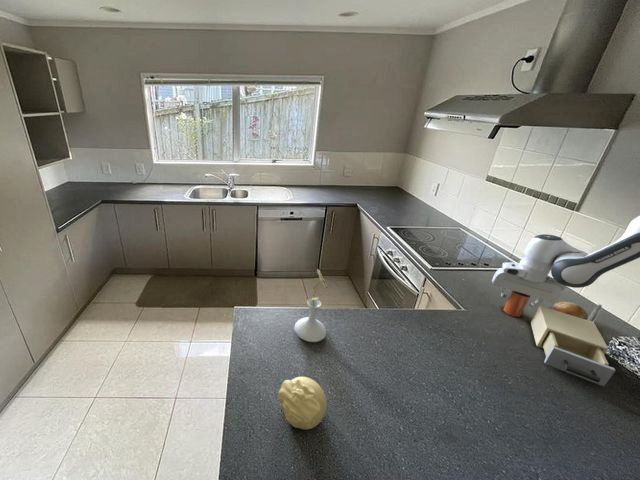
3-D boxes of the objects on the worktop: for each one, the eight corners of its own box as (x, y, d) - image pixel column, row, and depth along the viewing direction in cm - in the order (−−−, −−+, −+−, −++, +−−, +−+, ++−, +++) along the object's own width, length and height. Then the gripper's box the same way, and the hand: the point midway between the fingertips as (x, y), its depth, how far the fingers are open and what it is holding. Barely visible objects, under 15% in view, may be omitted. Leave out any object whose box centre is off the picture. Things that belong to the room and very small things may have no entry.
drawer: (608, 397, 82) (621, 380, 80) (546, 372, 90) (556, 356, 87) (589, 356, 96) (600, 341, 94) (537, 337, 104) (545, 323, 101)
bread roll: (577, 323, 118) (582, 305, 118) (591, 329, 109) (597, 309, 109) (546, 314, 123) (551, 297, 123) (557, 318, 114) (562, 300, 114)
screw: (585, 328, 111) (596, 337, 107) (571, 325, 112) (581, 334, 107) (602, 301, 106) (614, 309, 102) (587, 299, 107) (598, 307, 102)
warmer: (595, 368, 93) (608, 348, 90) (536, 346, 101) (546, 327, 98) (582, 340, 105) (593, 322, 101) (530, 322, 113) (539, 305, 109)
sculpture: (270, 413, 75) (273, 385, 71) (297, 385, 83) (301, 359, 79) (305, 448, 67) (310, 419, 63) (331, 414, 75) (337, 386, 71)
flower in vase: (323, 349, 96) (334, 288, 86) (291, 339, 99) (298, 280, 90) (327, 323, 107) (337, 268, 98) (298, 316, 111) (304, 261, 101)
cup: (519, 311, 119) (529, 292, 115) (521, 318, 115) (531, 298, 111) (502, 306, 122) (511, 287, 118) (503, 313, 118) (513, 293, 114)
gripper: (566, 278, 107) (550, 307, 112) (498, 261, 118) (487, 288, 124) (570, 286, 103) (553, 316, 108) (499, 267, 114) (487, 295, 119)
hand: (517, 301), depth 116 cm, fingers open, 8 cm apart
